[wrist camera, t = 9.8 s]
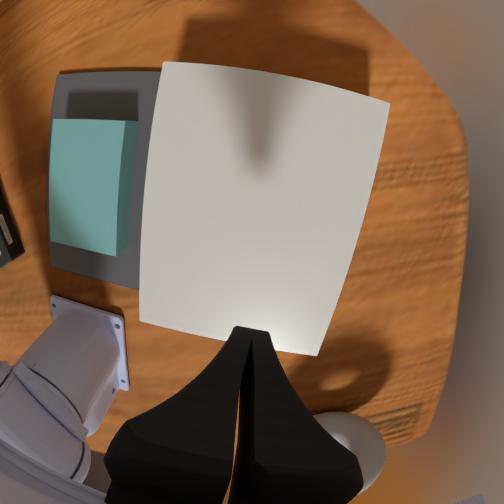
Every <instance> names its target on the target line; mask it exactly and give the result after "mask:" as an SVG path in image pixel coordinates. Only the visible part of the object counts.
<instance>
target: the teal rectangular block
mask: <svg viewBox="0 0 504 504" xmlns="http://www.w3.org/2000/svg"><path fill="white" fill-rule="evenodd" d="M138 122H139V121H126V120H108V119H53V126H52V137H51V150H50V171H49V217H50V238H51V241H53V242H57V243H61V244H65V245H69V246H73V247H78V248H82V249H86V250H90V251H94V252H98V253H103V254H107V255H111V256H117V255H119V254H120V253H121V252H122V251H123V250H124V249H125V248H127V247H128V234H129V212H130V197H131V184H132V173H133V163H134V153H135V145H136V137H137V129H138Z"/></svg>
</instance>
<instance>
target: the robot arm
mask: <svg viewBox="0 0 504 504" xmlns="http://www.w3.org/2000/svg"><path fill="white" fill-rule="evenodd" d="M50 305H51V311H52V316H53V321H54V322H53V323H52V324H51V325H50V326H49V327H48V328H47V329H46V330H45V331H44V332H43V333H42V334H41V335H40V336H39V337H38V339H37V340H36V341H35V342H34V343H33V344H32V345H31V346H30V347H29V348H28V349H27V351H26V352H25V353H24V354H23V355H22V356H21V357H20V358H19V359H18V361H17V362H16V363H15V364H14V365H13V366H10V365H9V363H8V362H7V361H3V362H2V361H0V504H222V502H223V500H224V496H225V494H226V491H227V488H228V486H229V483H230V480H231V474H232V467H233V457H234V442H235V429H236V419H237V409H238V399H239V390H240V400H239V425H238V442H237V449H236V455H235V462H234V469H233V475H232V481H231V487H230V493H229V499H228V504H347V503H348V502H349V501H350V500H352V499H353V498H354V497H355V496H356V495H357V494H358V493H359V492H360V491H361V490H362V488H363V486H364V481H363V475H362V471H361V467H360V464H359V461H358V458H357V456H356V455H355V454H353V453H352V452H351V451H349V450H348V449H347V448H346V447H344V446H343V445H342V444H340V443H339V442H338V441H337V440H336V439H335V438H333V437H332V436H331V435H330V434H329V433H328V432H327V431H326V430H325V429H324V428H323V427H322V426H321V425H320V423H319V422H318V421H317V420H316V419H315V418H314V417H313V416H312V415H311V413H310V412H309V411H308V409H307V408H306V407H305V405H304V404H303V403H302V401H301V400H300V398H299V397H298V395H297V394H296V392H295V390H294V389H293V387H292V385H291V384H290V382H289V380H288V378H287V376H286V374H285V372H284V370H283V368H282V366H281V364H280V361H279V359H278V357H277V354H276V352H275V349H274V346H273V343H272V340H271V336H270V334H269V332H268V331H263V330H257V329H252V328H247V327H241V326H235V327H233V330H232V332H231V334H230V336H229V338H228V340H227V341H226V343H225V344H224V346H223V347H222V348H221V350H220V351H219V352H218V354H217V355H216V356H215V358H214V359H213V360H212V361H211V362H210V363H209V364H208V366H207V367H206V368H205V369H204V370H203V371H202V372H201V373H200V374H199V375H198V376H197V377H196V378H195V379H193V380H192V381H191V382H190V383H189V384H188V385H187V386H185V387H184V388H183V389H181V390H180V391H179V392H178V393H176V394H175V395H173V396H172V397H170V398H169V399H167V400H166V401H164V402H162V403H161V404H159V405H157V406H156V407H154V408H152V409H151V410H149V411H147V412H145V413H142V414H140V415H138V416H136V417H134V418H132V419H129V420H127V421H126V422H125V423H124V424H123V425H122V427H121V428H120V429H119V431H118V432H117V433H116V435H115V436H114V438H113V439H112V441H111V443H110V445H109V447H108V450H107V452H106V454H105V457H104V464H105V466H106V469H107V471H108V473H109V475H110V478H111V480H112V482H111V484H110V487H109V489H108V492H107V494H105V493H102V492H100V491H98V490H95V489H93V488H90V487H88V486H86V485H83V484H82V482H83V481H84V479H85V477H86V475H87V473H88V470H89V467H90V461H91V460H90V456H91V453H90V447H89V445H88V444H87V443H86V442H85V441H84V440H85V438H86V437H88V436H90V435H92V434H93V433H94V432H96V431H97V429H98V428H99V427H100V425H101V423H102V421H103V419H104V417H105V415H106V413H107V411H108V409H109V407H110V405H111V403H112V401H113V400H114V398H115V396H116V394H117V392H118V390H119V389H121V390H125V391H128V390H129V387H130V386H129V378H128V368H127V358H126V346H125V332H124V320H123V318H122V317H121V316H120V315H117V314H114V313H110V312H107V311H103V310H100V309H97V308H93V307H90V306H87V305H84V304H80V303H77V302H74V301H71V300H68V299H65V298H62V297H59V296H56V295H52V296H51V297H50ZM117 324H118V325H119V326H118V325H117ZM456 504H485V502H484V499H483V496H482V494H479V495H476V496H473V497H471V498H467V499H464V500H462V501H460V502H457V503H456Z"/></svg>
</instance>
